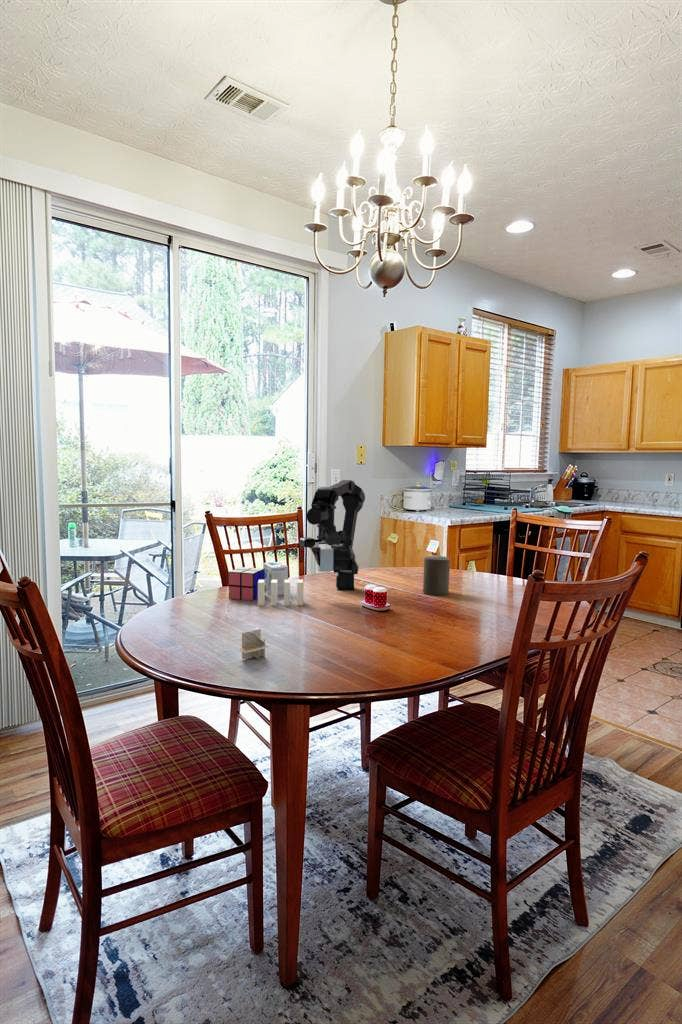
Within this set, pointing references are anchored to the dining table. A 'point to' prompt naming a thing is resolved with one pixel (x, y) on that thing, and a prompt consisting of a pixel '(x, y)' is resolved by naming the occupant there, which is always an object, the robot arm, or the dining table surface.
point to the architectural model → (252, 644)
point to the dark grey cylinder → (436, 575)
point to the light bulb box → (275, 576)
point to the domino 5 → (326, 560)
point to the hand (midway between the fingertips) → (325, 565)
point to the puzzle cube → (245, 583)
